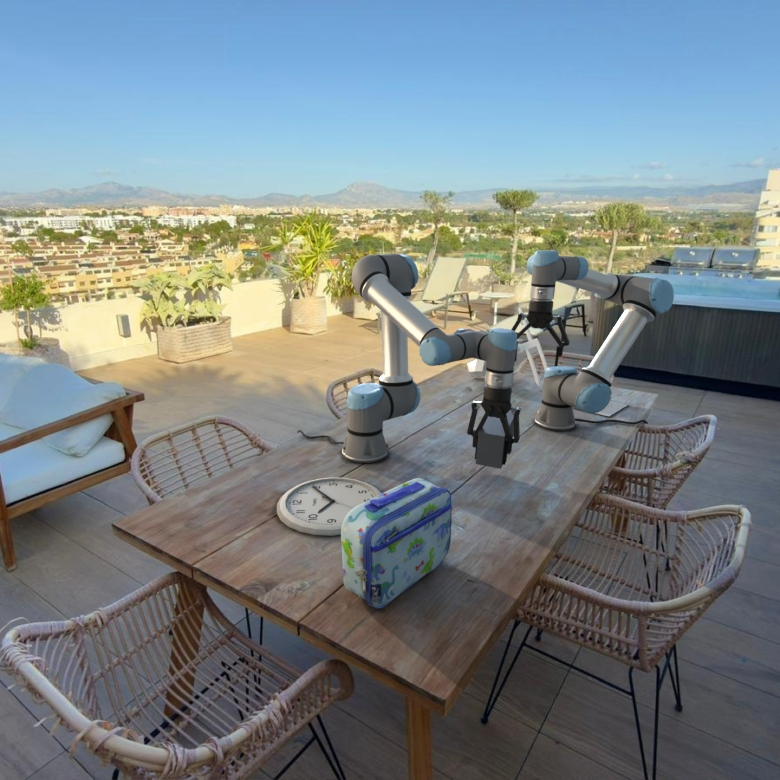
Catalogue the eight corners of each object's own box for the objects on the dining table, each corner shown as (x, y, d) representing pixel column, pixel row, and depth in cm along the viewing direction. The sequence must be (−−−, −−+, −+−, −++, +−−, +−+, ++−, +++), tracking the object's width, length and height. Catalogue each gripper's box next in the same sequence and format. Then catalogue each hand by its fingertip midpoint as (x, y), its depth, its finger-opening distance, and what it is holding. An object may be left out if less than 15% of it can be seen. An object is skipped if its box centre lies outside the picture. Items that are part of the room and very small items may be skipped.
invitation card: (608, 416, 214) (573, 407, 224) (608, 416, 214) (573, 408, 224) (628, 404, 229) (594, 396, 238) (628, 405, 229) (594, 397, 238)
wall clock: (392, 527, 129) (268, 531, 127) (391, 533, 130) (269, 537, 127) (383, 473, 158) (282, 475, 155) (383, 478, 158) (282, 480, 156)
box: (490, 437, 169) (493, 408, 166) (513, 441, 167) (516, 412, 164) (475, 464, 150) (478, 432, 147) (500, 469, 148) (504, 436, 145)
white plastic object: (488, 419, 266) (468, 396, 241) (469, 346, 288) (449, 319, 263) (559, 395, 254) (545, 368, 229) (533, 321, 276) (519, 290, 251)
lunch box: (370, 622, 101) (370, 527, 94) (335, 595, 108) (333, 505, 102) (455, 565, 118) (460, 481, 112) (420, 544, 125) (423, 465, 119)
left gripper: (459, 383, 145) (453, 458, 152) (533, 394, 138) (524, 472, 145) (465, 376, 151) (459, 448, 158) (537, 386, 144) (527, 461, 152)
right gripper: (500, 298, 170) (495, 361, 176) (581, 303, 161) (573, 370, 168) (504, 296, 177) (499, 357, 183) (582, 300, 168) (574, 364, 174)
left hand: (490, 460), depth 152 cm, fingers closed on box, 7 cm apart
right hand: (535, 363), depth 175 cm, fingers open, 13 cm apart
